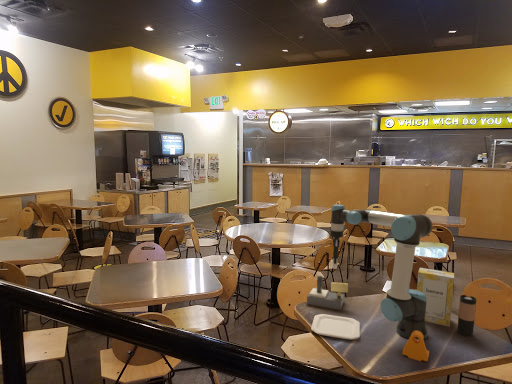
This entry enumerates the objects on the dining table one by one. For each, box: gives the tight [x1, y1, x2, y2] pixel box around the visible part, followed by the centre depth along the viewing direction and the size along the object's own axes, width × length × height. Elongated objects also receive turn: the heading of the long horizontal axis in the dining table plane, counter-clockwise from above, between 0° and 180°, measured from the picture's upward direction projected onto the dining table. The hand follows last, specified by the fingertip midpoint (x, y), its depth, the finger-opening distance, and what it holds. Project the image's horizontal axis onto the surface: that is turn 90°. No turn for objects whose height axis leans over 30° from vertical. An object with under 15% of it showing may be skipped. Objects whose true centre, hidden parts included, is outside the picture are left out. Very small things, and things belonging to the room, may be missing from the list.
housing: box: [306, 290, 345, 311], centre depth 232 cm, size 14×21×5 cm, turn 69°
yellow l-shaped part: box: [330, 281, 349, 298], centre depth 232 cm, size 10×10×9 cm
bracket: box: [402, 331, 430, 362], centre depth 172 cm, size 11×7×12 cm, turn 60°
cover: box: [308, 275, 330, 298], centre depth 233 cm, size 11×10×12 cm
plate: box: [310, 313, 361, 340], centre depth 197 cm, size 25×25×2 cm
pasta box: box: [416, 267, 455, 328], centre depth 213 cm, size 18×10×28 cm, turn 62°
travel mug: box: [457, 294, 477, 337], centre depth 197 cm, size 8×8×20 cm
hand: (334, 267), depth 225 cm, fingers closed
